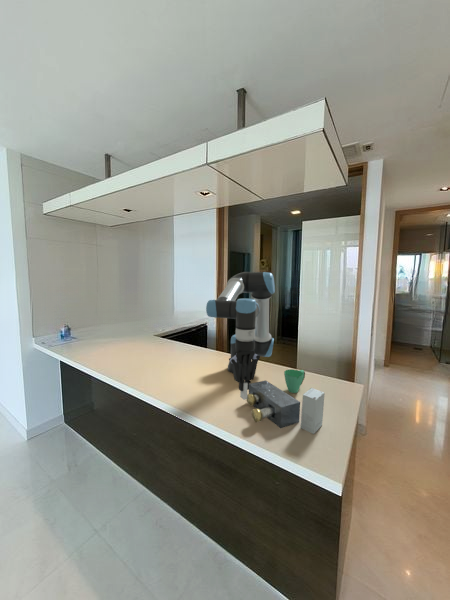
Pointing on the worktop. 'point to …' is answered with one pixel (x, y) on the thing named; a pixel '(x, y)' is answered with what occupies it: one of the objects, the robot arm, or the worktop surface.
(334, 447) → the worktop surface
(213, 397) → the worktop surface
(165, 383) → the worktop surface
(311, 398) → the skincare box
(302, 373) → the mug
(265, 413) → the knob right
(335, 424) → the worktop surface
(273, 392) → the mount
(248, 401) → the knob left
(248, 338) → the robot arm
